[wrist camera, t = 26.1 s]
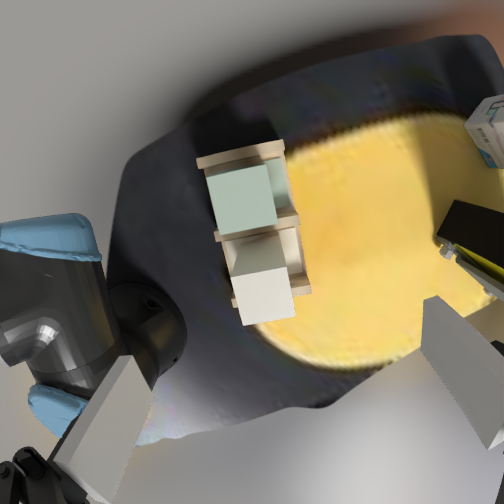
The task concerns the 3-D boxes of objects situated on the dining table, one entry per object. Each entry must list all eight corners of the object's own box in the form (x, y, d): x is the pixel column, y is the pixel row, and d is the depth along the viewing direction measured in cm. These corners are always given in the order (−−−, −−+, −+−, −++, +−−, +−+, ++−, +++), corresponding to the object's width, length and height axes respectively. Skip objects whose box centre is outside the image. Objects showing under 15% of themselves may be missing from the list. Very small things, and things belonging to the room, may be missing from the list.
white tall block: (249, 279, 39) (243, 325, 27) (240, 242, 38) (230, 277, 26) (286, 271, 38) (295, 316, 27) (279, 235, 37) (286, 266, 26)
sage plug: (234, 213, 37) (220, 235, 25) (225, 173, 35) (206, 177, 24) (273, 204, 36) (278, 223, 25) (265, 165, 35) (266, 164, 23)
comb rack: (236, 296, 41) (233, 307, 37) (202, 159, 36) (196, 158, 32) (307, 282, 40) (311, 293, 36) (280, 141, 35) (282, 139, 31)
